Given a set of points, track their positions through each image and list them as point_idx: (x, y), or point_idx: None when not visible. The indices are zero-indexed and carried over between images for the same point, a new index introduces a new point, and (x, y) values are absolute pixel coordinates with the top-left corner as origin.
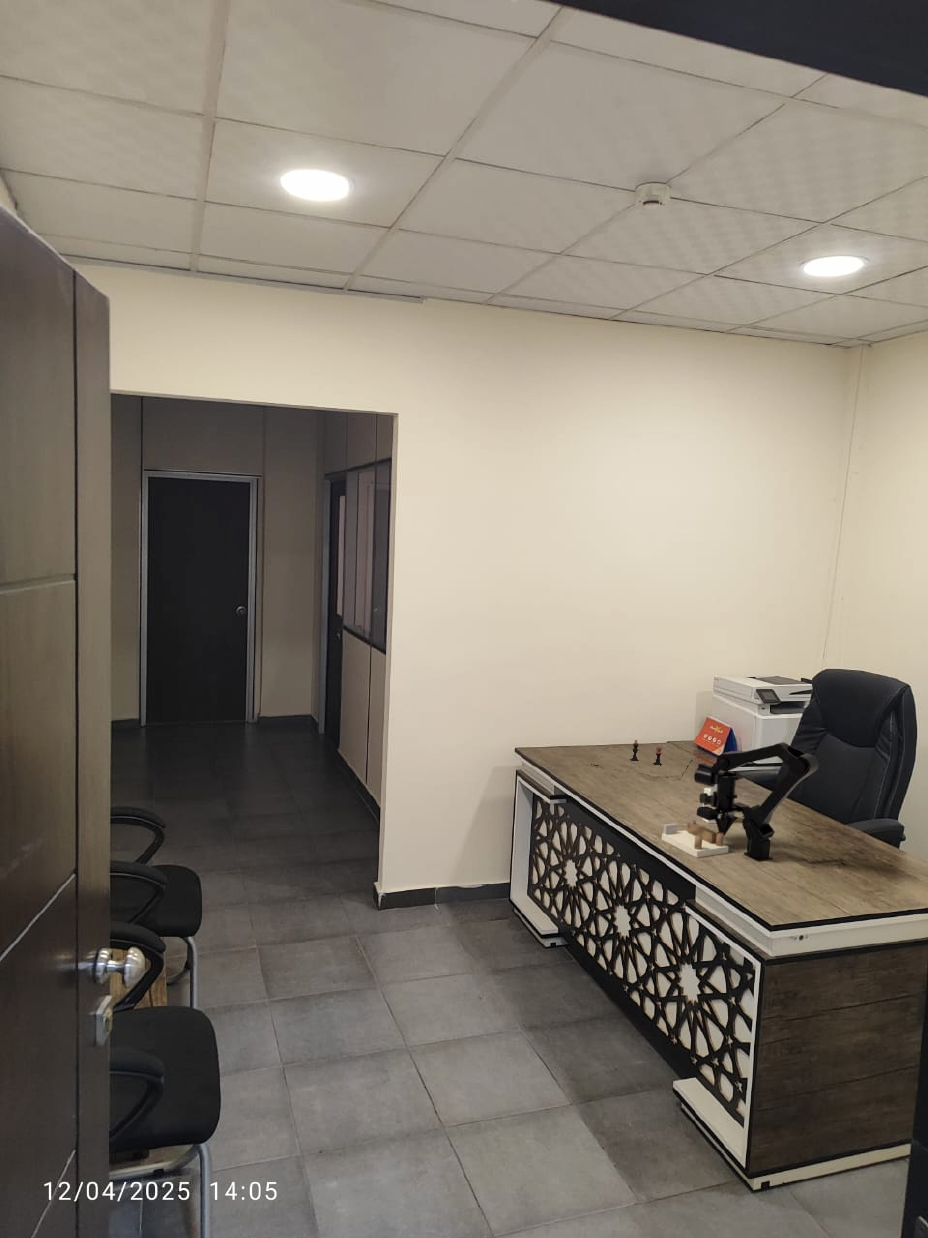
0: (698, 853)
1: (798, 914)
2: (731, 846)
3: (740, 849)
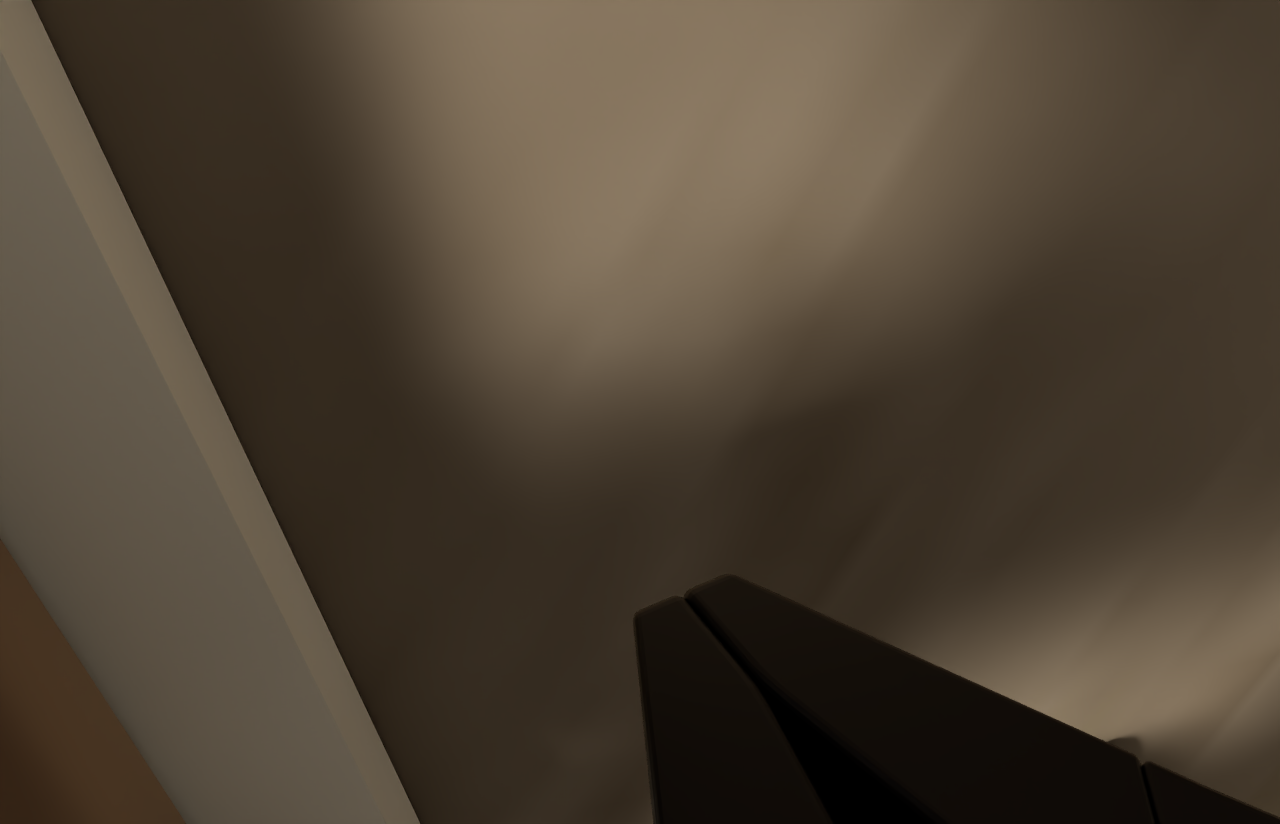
0: None
1: None
2: (824, 489)
3: (907, 651)
